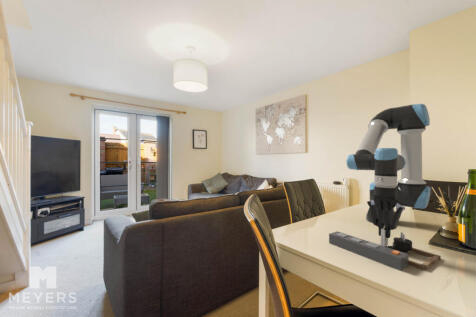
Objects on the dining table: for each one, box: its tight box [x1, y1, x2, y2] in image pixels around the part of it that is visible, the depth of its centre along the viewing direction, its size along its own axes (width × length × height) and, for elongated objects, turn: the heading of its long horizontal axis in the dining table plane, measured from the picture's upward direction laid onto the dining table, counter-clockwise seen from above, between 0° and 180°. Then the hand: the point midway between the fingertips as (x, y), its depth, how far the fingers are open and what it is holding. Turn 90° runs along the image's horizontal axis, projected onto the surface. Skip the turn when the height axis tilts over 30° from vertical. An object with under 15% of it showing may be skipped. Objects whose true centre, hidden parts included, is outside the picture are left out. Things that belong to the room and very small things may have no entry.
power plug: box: [385, 231, 413, 254], centre depth 81 cm, size 6×8×12 cm
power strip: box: [328, 230, 410, 271], centre depth 80 cm, size 6×26×5 cm, turn 31°
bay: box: [392, 241, 442, 272], centre depth 76 cm, size 14×14×2 cm
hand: (384, 244), depth 83 cm, fingers closed
